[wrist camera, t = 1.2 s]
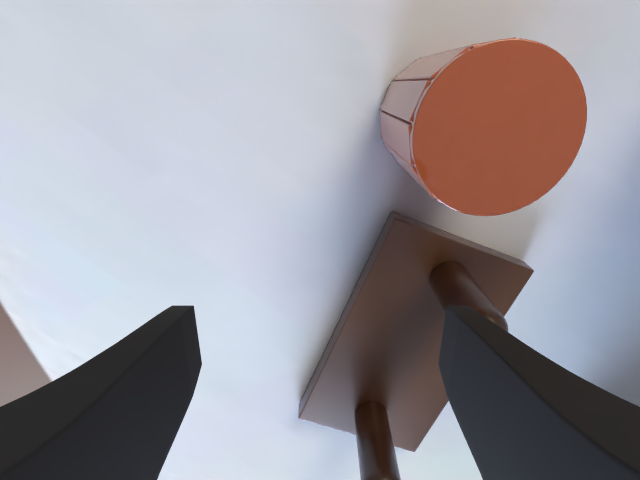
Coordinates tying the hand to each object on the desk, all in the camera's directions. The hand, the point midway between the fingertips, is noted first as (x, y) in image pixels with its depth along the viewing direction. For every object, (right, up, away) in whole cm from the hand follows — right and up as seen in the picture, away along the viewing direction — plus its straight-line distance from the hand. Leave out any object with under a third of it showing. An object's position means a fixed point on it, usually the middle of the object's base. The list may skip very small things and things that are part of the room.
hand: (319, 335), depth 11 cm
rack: (+5, -3, +12) cm, 13 cm away
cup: (+6, +9, +7) cm, 13 cm away
